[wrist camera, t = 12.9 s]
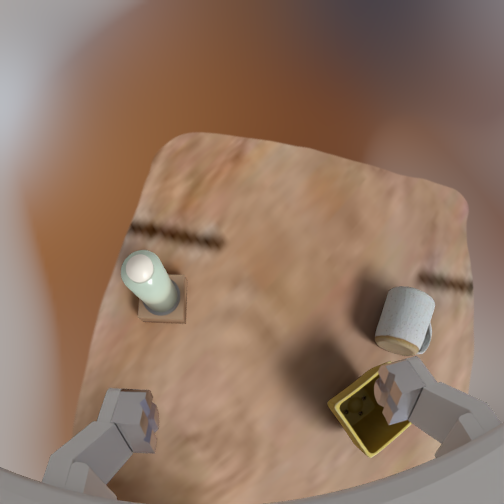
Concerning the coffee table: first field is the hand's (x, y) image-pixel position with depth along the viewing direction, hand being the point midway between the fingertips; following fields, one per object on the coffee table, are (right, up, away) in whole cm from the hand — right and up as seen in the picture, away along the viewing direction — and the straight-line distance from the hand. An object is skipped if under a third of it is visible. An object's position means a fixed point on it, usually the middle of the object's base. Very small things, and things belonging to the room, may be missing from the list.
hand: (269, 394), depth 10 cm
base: (-13, -2, +32) cm, 35 cm away
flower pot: (+14, -17, +28) cm, 35 cm away
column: (-12, -1, +29) cm, 32 cm away
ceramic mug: (+22, -7, +33) cm, 40 cm away
